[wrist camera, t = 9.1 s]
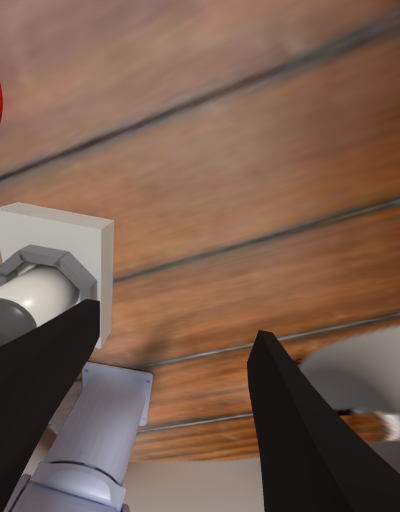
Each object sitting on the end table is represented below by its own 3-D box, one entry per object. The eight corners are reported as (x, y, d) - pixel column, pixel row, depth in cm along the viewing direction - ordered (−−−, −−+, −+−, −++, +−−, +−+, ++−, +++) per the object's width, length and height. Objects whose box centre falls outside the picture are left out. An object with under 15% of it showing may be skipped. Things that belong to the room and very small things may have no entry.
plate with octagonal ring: (111, 330, 24) (94, 358, 21) (35, 316, 24) (6, 343, 21) (114, 220, 19) (93, 234, 16) (18, 202, 19) (-23, 212, 16)
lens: (81, 312, 20) (42, 357, 16) (32, 305, 20) (-22, 348, 16) (77, 266, 19) (31, 302, 14) (22, 260, 19) (-41, 293, 14)
